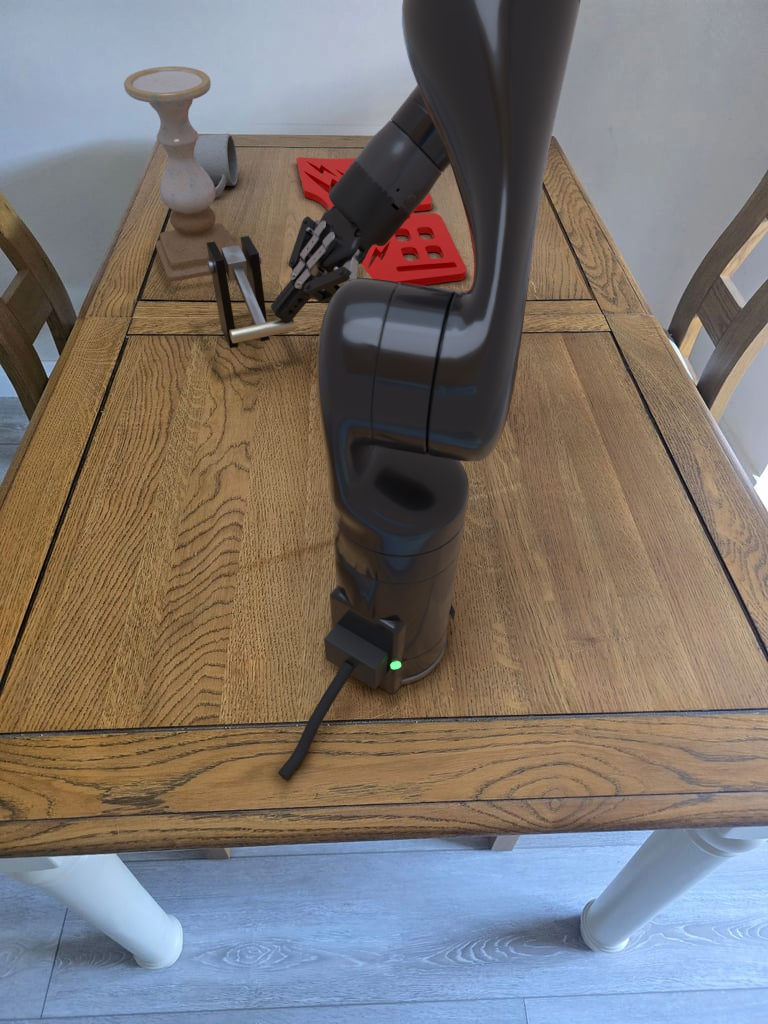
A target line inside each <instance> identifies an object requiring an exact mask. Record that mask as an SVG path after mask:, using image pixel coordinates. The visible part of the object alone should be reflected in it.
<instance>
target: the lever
mask: <svg viewBox="0 0 768 1024" xmlns="http://www.w3.org/2000/svg"><path fill="white" fill-rule="evenodd" d="M221 251H222V256H223V258H224V262H225V268H226V274H227V279H228V281H233V280H235V281H236V284H237V286H238V289H239V291H240V293H241V296H242V299H243V301H244V304H245V306H246V308H247V311H248V313H249V316H250V319H251V322H252V321H253V323H254V325H253V323H252V324H251V325H247V326H242V327H237V328H235V329H232V330H230V337H231V340H232V343H237V344H238V343H241V342H242V343H243V342H247V341H251V340H252V341H253V340H256V339H260V338H261V337H266V336H269V337H271V336H274V335H275V336H276V335H279V334H284V333H288V332H293V331H296V323H295V319H294V318H293V319H292V320H291V321H290V322H284V321H283V320H281V319H280V318H279V319H276V320H272V321H271V320H270V321H267V322H266V321H265V319H264V317H263V314H262V312H261V310H260V307H259V305H258V303H257V300H256V298H255V295H254V293H253V291H252V288H251V286H250V284H249V281H248V279H247V277H248V272H247V261H246V258H245V256H244V254H243V251H242V246H241V244H236V245H235V246H229V247H224V248H221Z"/></svg>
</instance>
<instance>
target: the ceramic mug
mask: <svg viewBox="0 0 768 1024" xmlns="http://www.w3.org/2000/svg"><path fill="white" fill-rule="evenodd" d="M198 135H199V134H198ZM194 155H195V157H196V159H197V161H198V163H199V164H200V165H201V166H202V168H203V169H204V170H205V171H206V172H207V174H208V175H209V176H210V178H211V179H212V181H213V183H214V186H215V190H216V195H215V198H217V197H220V195H221V194H223V191H224V190H225V188H226V187H227V186H228V187H235V186H236V184H237V183H238V178H239V175H238V174H239V164H238V154H237V150H236V144H235V141H234V138H233V136H232V135H231V134H230V133H219V134H203V135H202V134H201V135H199V137H198V140H197V141H196V145H195V148H194Z"/></svg>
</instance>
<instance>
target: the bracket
mask: <svg viewBox="0 0 768 1024" xmlns="http://www.w3.org/2000/svg"><path fill="white" fill-rule="evenodd" d="M206 244H207V250H208V255H209V261H207V264H208V268H209V271H210V273H212V275H211V277H212V284H213V288H214V289H213V290H214V296H215V301H216V307H217V312H218V317H219V323H220V328H221V331H222V334H223V336H224V339H225V340H226V343H227V344H228V347H229V349H234V348H238V347H239V344H238V343H232V340H231V337H230V330H232V329H236V326H235V325H236V324H235V320H234V313H233V306H232V300H231V295H230V287H229V279H228V275H227V273H226V268H225V262H224V258H223V256H222V254H221V252H220V251H219V249H218V247H217V245H216V243H215V242H209V243H206ZM240 245H241V249H242V251H243V254H244V256H245V258H246V261H247V272H248V277H247V279H248V281H249V284H250V286H251V288H252V291H253V293H254V295H255V298H256V300H257V303H258V305H259V307H260V310H261V312H262V314H263V317H264V319H265V321H266V322H268V319H267V318H268V317H267V309H266V301H265V300H266V299H265V294H264V285H263V284H264V283H263V277H262V275H263V274H262V268H261V265H262V257H261V254H260V252H259V251H258V250H257V248H256V246H255V244H254V242H253V241H252V239H251V237H250V236H249V235H245V236H241V237H240ZM251 323H252V325H254V323H253V321H252V320H251ZM259 339H260V342H267V341H270V336H266V337H261V338H259Z"/></svg>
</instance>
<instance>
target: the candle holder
mask: <svg viewBox="0 0 768 1024" xmlns="http://www.w3.org/2000/svg"><path fill="white" fill-rule="evenodd" d="M211 81H212V80H211V78H210V76H209V75H208V74H207V73H205V72H204V71H202V70H199V69H197V68H193V67H186V66H158V67H157V66H156V67H151V68H146V69H142V70H138V71H136V72H134V73H131V74H130V75H128V76H127V77H126V78H125V80H124V82H123V88H124V91H125V93H126V94H127V95H128V97H130V98H132V99H134V100H136V101H140V102H143V103H148V105H150V107H151V108H152V109H153V110H154V111H155V112H156V114H157V115H158V118H159V121H160V122H159V123H160V125H159V129H158V132H157V133H156V140H157V142H158V143H159V144H160V145H161V146H162V148H163V150H164V151H165V152H166V154H167V157H168V158H167V163H166V167H165V169H164V172H163V174H162V177H161V179H160V184H159V196H160V198H161V201H162V202H163V204H164V205H165V206H166V207H168V208H169V209H170V210H171V213H170V216H169V220H170V225H171V226H172V227H173V228H174V229H172V230H167V231H163V232H160V233H159V239H158V240H156V241H155V248H156V251H157V254H158V257H159V260H160V262H161V265H162V268H163V271H164V274H165V276H166V278H167V280H168V282H176V281H183V280H188V279H194V278H200V277H206V276H212V273H210V271H209V268H208V264H207V261H209V255H208V250H207V244H206V243H209V242H215V243H216V245H217V247H218V249H219V251H220V252H221V254H222V251H221V248H224V247H229V246H235V245H237V244H236V242H235V240H234V238H233V236H232V235H231V233H230V231H229V230H228V229H227V228H226V227H225V226H224V225H223V223H220V222H219V223H216V214H215V211H214V210H213V209H212V208H211V206H212V204H213V203H214V201H215V200H216V199H215V195H216V190H215V188H216V185H214V183H213V181H212V179H211V178H210V176H209V175H208V174H207V172H206V171H205V170H204V169H203V168H202V166H201V165H200V164H199V163H198V161H197V159H196V157H195V155H194V148H195V145H196V141H197V140H198V137H199V133H198V130H196V129H195V128H194V127H193V125H192V123H191V121H190V118H189V111H190V108H191V107H192V104H193V103H194V102H193V101H194V100H195V99H198V98H201V97H202V96H204V95H206V94H207V93H208V92H209V91H210V89H211V87H212V86H211V85H212V82H211Z"/></svg>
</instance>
